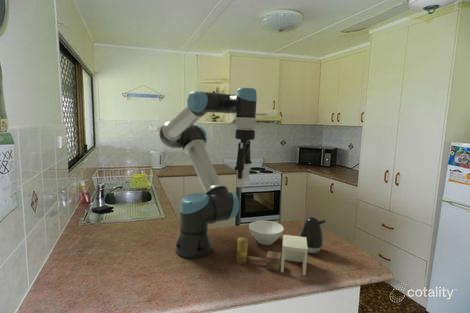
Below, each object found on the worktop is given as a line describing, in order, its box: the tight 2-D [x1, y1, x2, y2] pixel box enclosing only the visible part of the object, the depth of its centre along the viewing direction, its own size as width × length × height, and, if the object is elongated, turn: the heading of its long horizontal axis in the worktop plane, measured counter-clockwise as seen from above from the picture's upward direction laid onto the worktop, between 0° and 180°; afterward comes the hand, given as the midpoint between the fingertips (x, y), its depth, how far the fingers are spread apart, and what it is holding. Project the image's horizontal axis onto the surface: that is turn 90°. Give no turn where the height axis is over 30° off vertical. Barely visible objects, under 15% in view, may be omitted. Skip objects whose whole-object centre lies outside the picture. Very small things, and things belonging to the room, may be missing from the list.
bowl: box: [248, 220, 285, 246], centre depth 131 cm, size 16×16×7 cm
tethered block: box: [236, 237, 282, 272], centre depth 110 cm, size 17×5×9 cm, turn 74°
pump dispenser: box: [299, 216, 326, 254], centre depth 122 cm, size 10×10×15 cm
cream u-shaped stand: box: [280, 234, 308, 276], centre depth 109 cm, size 9×10×10 cm
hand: (242, 182), depth 112 cm, fingers open, 13 cm apart
